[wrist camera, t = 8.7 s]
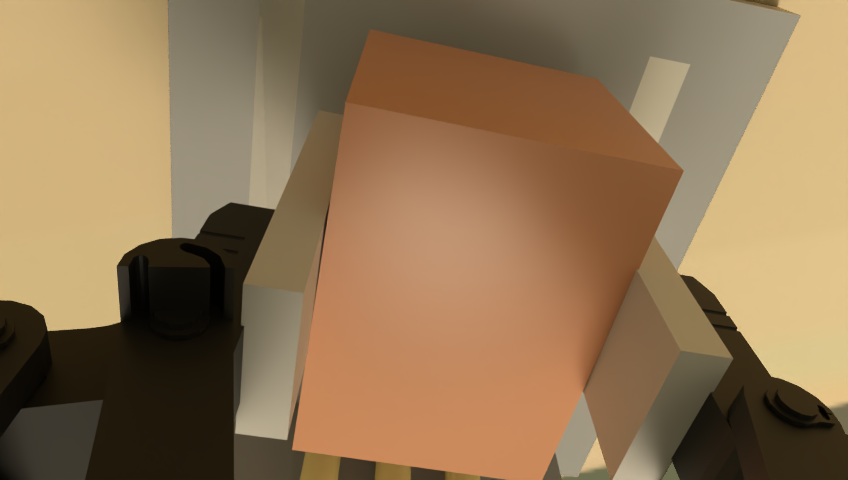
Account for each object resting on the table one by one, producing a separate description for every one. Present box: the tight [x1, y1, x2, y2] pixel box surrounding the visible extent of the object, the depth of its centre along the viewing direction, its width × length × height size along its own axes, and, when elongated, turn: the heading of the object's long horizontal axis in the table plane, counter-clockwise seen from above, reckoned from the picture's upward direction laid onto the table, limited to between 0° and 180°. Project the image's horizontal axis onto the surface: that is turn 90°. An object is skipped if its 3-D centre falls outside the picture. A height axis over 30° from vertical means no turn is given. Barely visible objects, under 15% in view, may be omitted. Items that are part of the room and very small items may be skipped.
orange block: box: [292, 29, 684, 480], centre depth 13 cm, size 7×5×5 cm
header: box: [168, 0, 800, 480], centre depth 15 cm, size 16×14×7 cm
